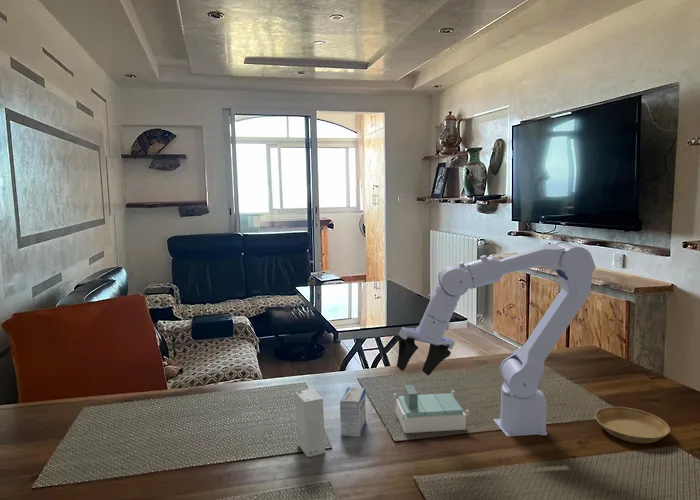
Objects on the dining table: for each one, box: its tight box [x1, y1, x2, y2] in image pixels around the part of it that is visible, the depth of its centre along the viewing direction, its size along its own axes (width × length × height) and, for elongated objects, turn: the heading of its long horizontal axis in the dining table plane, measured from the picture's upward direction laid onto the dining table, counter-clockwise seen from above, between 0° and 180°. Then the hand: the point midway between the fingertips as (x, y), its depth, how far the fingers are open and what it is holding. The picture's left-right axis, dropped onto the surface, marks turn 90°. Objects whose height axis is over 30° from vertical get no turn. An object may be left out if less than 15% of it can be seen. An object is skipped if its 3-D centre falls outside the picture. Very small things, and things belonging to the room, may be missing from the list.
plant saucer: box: [594, 406, 671, 444], centre depth 113 cm, size 15×15×3 cm
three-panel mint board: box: [397, 384, 464, 417], centre depth 116 cm, size 13×9×4 cm
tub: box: [392, 390, 470, 434], centre depth 117 cm, size 15×11×5 cm
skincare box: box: [294, 388, 326, 458], centre depth 106 cm, size 6×4×12 cm
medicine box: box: [339, 386, 367, 438], centre depth 114 cm, size 8×4×9 cm, turn 168°
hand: (413, 370), depth 114 cm, fingers open, 7 cm apart
